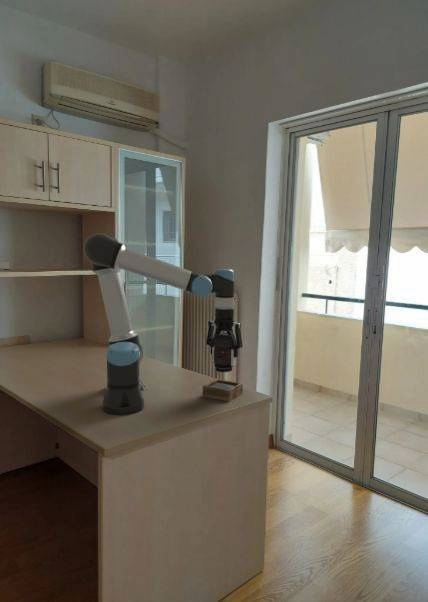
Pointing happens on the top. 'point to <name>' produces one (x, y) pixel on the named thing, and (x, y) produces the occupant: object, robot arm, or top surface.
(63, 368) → the top surface
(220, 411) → the top surface
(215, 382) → the square wooden tray
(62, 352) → the top surface
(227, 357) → the camera lens
